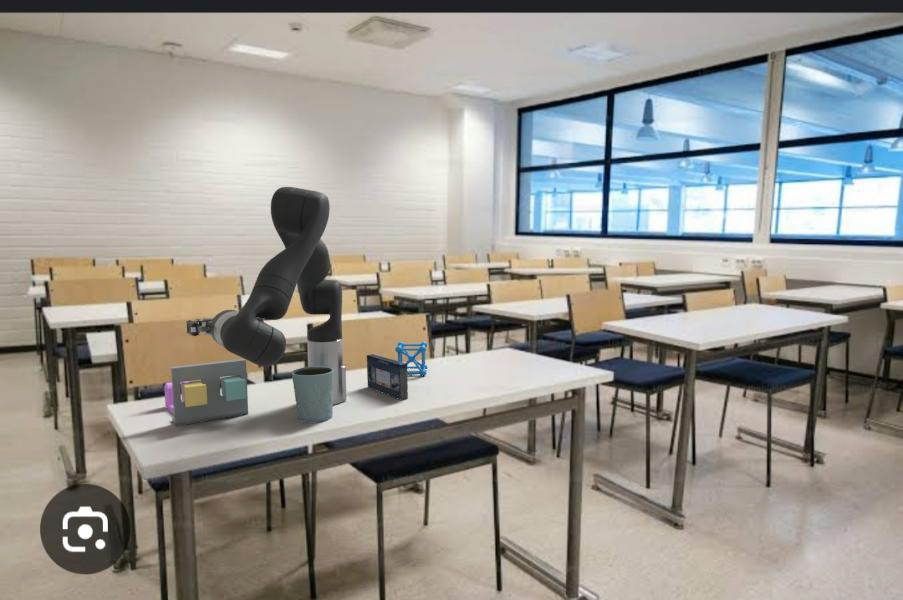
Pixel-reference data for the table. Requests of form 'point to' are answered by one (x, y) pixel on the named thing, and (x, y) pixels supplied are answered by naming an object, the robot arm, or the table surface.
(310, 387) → the teal cup
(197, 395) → the mustard button
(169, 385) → the bracket
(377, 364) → the vhs cassette tape
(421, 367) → the molecular structure
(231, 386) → the teal button
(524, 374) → the table surface
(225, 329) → the robot arm
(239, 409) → the panel
